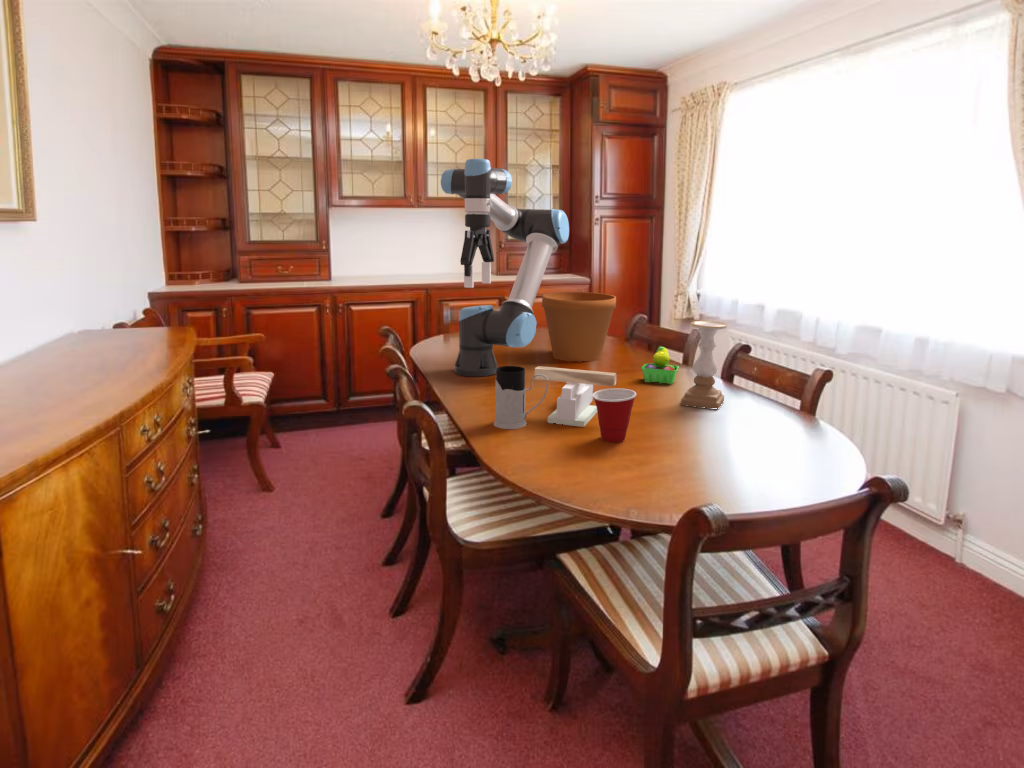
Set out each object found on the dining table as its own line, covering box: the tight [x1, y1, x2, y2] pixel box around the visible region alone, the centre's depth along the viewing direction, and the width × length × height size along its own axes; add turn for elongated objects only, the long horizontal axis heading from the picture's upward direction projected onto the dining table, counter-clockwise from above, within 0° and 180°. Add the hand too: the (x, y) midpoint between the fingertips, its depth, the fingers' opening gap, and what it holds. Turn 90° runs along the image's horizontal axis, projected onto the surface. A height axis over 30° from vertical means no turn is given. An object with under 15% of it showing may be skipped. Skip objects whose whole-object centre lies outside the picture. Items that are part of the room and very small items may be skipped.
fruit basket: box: [641, 346, 680, 385], centre depth 231 cm, size 11×9×11 cm
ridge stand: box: [546, 382, 598, 428], centre depth 189 cm, size 16×10×10 cm, turn 160°
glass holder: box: [493, 365, 549, 430], centre depth 182 cm, size 9×14×15 cm, turn 88°
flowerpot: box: [541, 291, 617, 363], centre depth 267 cm, size 28×28×24 cm
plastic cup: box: [592, 387, 637, 443], centre depth 171 cm, size 11×11×12 cm
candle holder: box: [680, 320, 728, 409], centre depth 203 cm, size 11×11×24 cm
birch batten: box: [534, 365, 617, 387], centre depth 188 cm, size 3×22×3 cm, turn 70°
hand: (477, 285), depth 211 cm, fingers open, 13 cm apart
